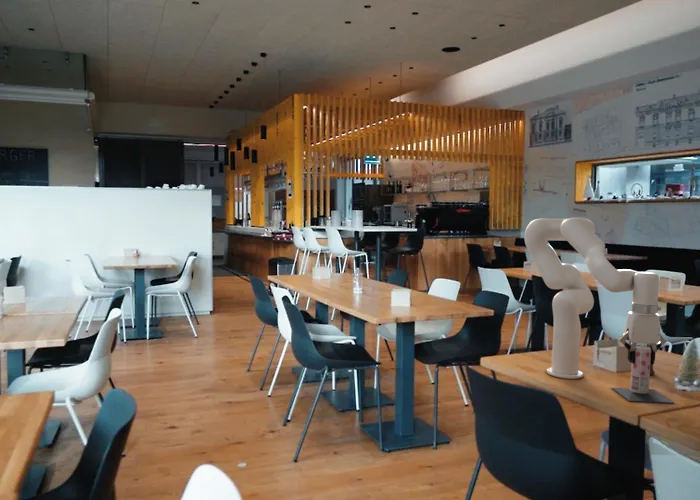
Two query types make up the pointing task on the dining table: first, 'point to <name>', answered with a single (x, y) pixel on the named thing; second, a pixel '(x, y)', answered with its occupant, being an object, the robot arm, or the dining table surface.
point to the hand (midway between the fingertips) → (641, 362)
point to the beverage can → (641, 370)
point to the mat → (642, 396)
